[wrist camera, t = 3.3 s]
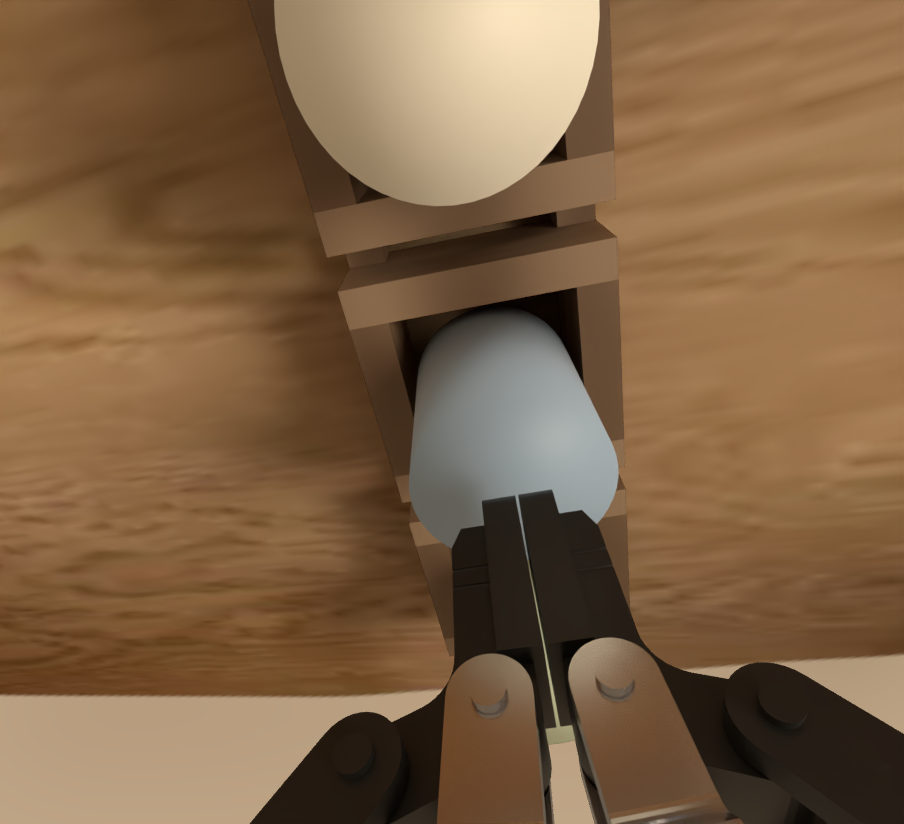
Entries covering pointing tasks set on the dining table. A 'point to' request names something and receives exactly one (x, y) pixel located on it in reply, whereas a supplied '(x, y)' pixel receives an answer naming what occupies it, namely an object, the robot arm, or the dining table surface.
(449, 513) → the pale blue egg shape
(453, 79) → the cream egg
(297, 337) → the dining table surface
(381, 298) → the wooden compartment tray
